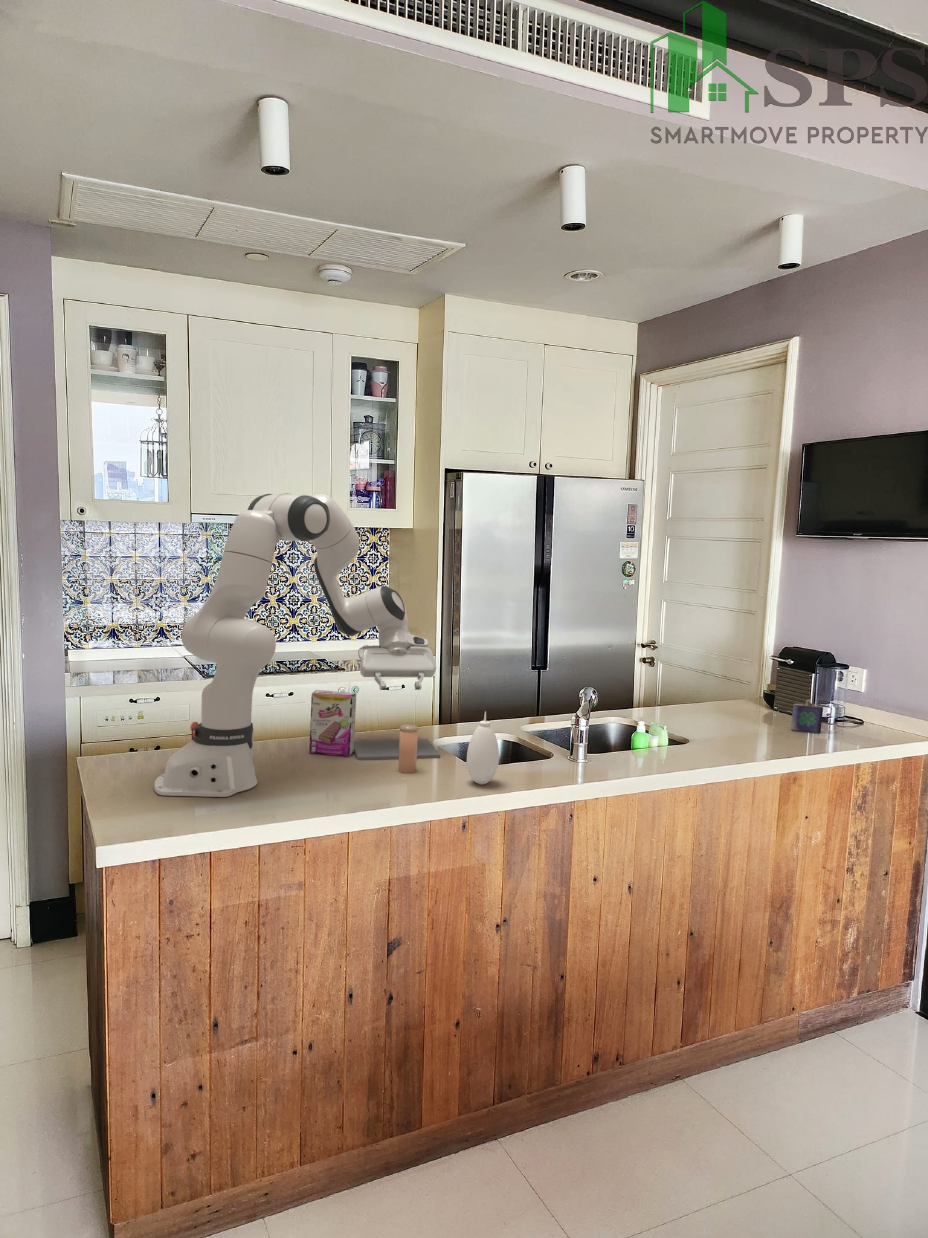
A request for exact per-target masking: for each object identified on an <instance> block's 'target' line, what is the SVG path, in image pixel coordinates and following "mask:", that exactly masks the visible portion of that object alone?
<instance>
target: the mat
mask: <svg viewBox="0 0 928 1238" xmlns="http://www.w3.org/2000/svg"><path fill="white" fill-rule="evenodd" d="M399 742H400V738H399V739H365V740H364V739H361V740H359V739H357V740H355V739H354V752H355V753H354V752H353V753H354V755H355V757H356V759H357V761H368V760H369V761H370V760H371V761H372V760H373V761H375V760H377V761H378V760H399ZM440 758H441V754H440V752H439V751H438V750H437V749H436V747H434V745H433V744H432V743H431V742H430V740H429V739H428V738H418V741H417V759H440Z"/></svg>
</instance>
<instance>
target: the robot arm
mask: <svg viewBox="0 0 928 1238" xmlns="http://www.w3.org/2000/svg"><path fill="white" fill-rule="evenodd" d="M280 540H282V541H287V542H294V541H295V542H299V541H302V542H311V543H312V545H313V547H314V548H315V550H316V556H315V558H314V559H313V560H314V561H313V564H314V565H313V566H314V567H313V568H314V572H315V575H316V579H317V581H318V583H319V586H320V589H321V590H322V593H323V594H324V597H325V599H326V602H327V605H328V607H329V609H330V612H331V615H332V618H333V621H334V624H335V627H336V628H337V630H338V631H339V632H340V633H342V634H344V635H346V636H349V637H354V636H356V635H358V634H360V633H363V632H364V631H366V630H369V629H372V628H374V627H376V628H377V630H378V645H369V644H367V645H363V646H361V647H359V649H358V651H357V653H358V657H359V659H360V669H359V670H360V675H361V676H362V677H363V678H374V681H375V682H376V683H377V685H378V687H379V690H380V691H385V690H386V689H387V681H386V680H385V681H384V680H383V679H382V678H417V680H415V682H414V690H416V691H419V690H420V691H421V690H422V683H423V680H424V678H432V677H434V675H435V673H436V671H437V664H436V660H435V656H434V653H433V651H432V649H431V648H429V640H428V639H426V638H425V637H421V636H417V635H414V634H411V632H410V630H409V617H408V612H407V611H408V610H407V608H406V605H405V602H404V600H403V598H402V597H401V595H400V594H399V593H398V592H397V591H396V590H394V589H392V588H391V587H388V586H386V585H382V586H379V587H375V588H373V589H370V590H367V591H365V592H362V593H360V594H357V595H355V596H351V597H345V596H344V592H343V591H342V588H341V587H340V584H339V582H338V580H337V579H338V578H337V576H338V575H339V574H340V573H341V572H342V571H343V570H344V569H345V568H347V567H348V566H349V565H350V564H351V563H352V562H353V561H354V559H355V558H356V556H357V554H358V552H359V549H360V537H359V534H358V532H357V530H356V529H355V526H354V525H353V524H352V522H351V520H350V519H349V517H348V516H347V514H346V513H345V512H344V510H343V509H342V508H341V507H340V505H339V504H338V503H337V502H336V501H335V500H334V499H333V498H332V497H331V496H329V495H328V494H324V493H315V494H313V495H306V494H302V495H299V494H292V493H289V492H285V493H267V494H266V493H265V494H262V495H259V496H258V497H255V498H254V499H253V500H252V501H251V502H250V504H249V506H248V508H247V509H246V510H243V511H241V512H240V513H238V514H237V515H236V518H235V519H234V522H233V523H232V526H231V528H230V530H229V533H228V537H227V539H226V541H225V545H224V549H223V552H222V557H221V560H220V564H219V568H218V572H217V575H216V580H215V582H214V584H213V585H214V586H212V590H211V591H210V593H209V595H208V597H207V599H206V601H205V602H204V604H203V605H202V606H201V608H200V609H199V611H197V613H196V614H194V615H193V616H191V617H190V618H189V619H188V620H186V622H185V623H184V625H183V626H182V630H181V643H182V645H183V647H184V649H185V650H186V651H187V652H188V653H190V654H191V655H193V656H195V657H196V658H198V659H200V660H203V661H207V662H212V663H215V664H216V667H215V673H214V676H213V679H212V680H211V682H210V683H208V684H207V685H206V686H204V688H203V690H202V691H201V715H200V716H201V718H200V719H201V721H200V723H199V722H198V721H193V722H192V723H191V724H190V731H191V740H190V741H189V742H188V743H186V744H184V745H183V746H182V747H181V748H180V749H178V750H177V751H175V752H174V753H173V754H171V756H170V757H169V758H168V761H167V762H166V765H165V769H164V773H162V774H161V775H159V776H158V777H157V778H156V779H155V781H154V785H153V789H154V791H155V793H156V794H158V795H159V796H170V797H171V796H173V797H175V796H176V797H177V796H178V797H211V798H212V797H215V798H216V797H217V798H218V797H219V798H226V797H227V798H228V797H231V796H233V795H235V794H238V793H240V792H245V791H246V790H250V789H252V788H254V787H255V786H256V785H257V784H258V780H257V777H256V773H255V772H256V771H255V767H254V759H253V750H252V749H253V747H254V746H253V745H254V732H255V731H254V724H253V722H252V710H253V709H252V708H253V707H252V706H253V693H254V687H255V684H256V681H257V678H258V677H259V674H260V672H261V670H262V669H263V668H264V667H266V666H267V665H268V664H269V663H270V662H271V660H272V659H273V657H274V655H275V653H276V647H277V644H276V643H277V642H276V636H275V634H274V632H272V630H271V629H270V628H269V627H267V626H266V625H263V624H262V623H259V622H257V621H256V620H253V619H247V618H245V617H246V615H247V614H248V612H249V610H250V609H251V608H252V607H253V605H255V604H256V603H258V602H259V601H260V600H262V599H263V598H264V596H265V594H266V590H267V586H268V581H269V578H270V573H271V569H272V566H273V560H274V555H275V549H276V546H277V544H278V543H279V541H280Z"/></svg>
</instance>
